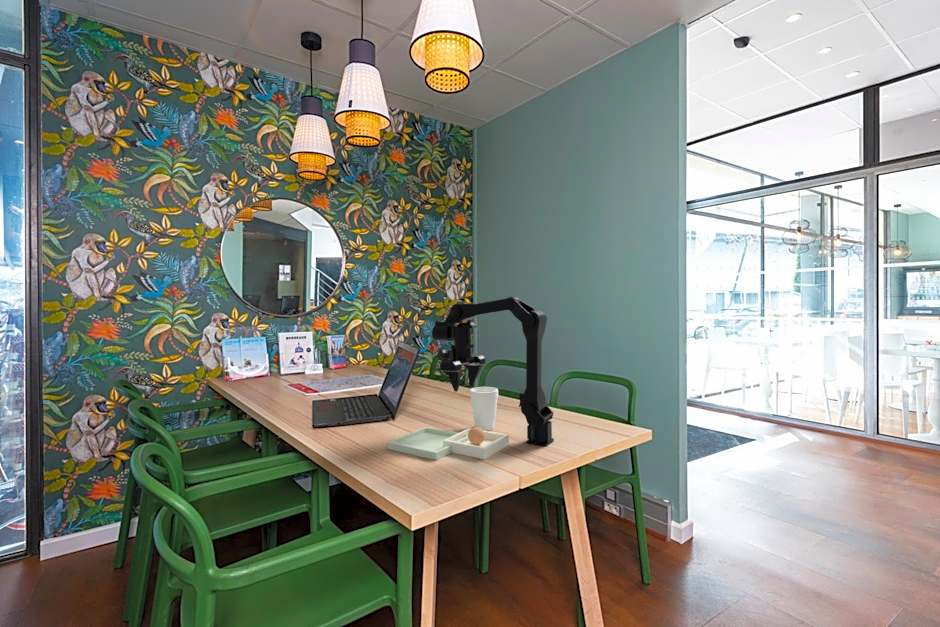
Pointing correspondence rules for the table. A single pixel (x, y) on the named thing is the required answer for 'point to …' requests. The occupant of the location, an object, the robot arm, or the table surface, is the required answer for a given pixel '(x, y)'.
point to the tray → (425, 443)
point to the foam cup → (484, 406)
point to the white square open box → (483, 450)
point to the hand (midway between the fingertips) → (463, 388)
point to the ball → (476, 435)
